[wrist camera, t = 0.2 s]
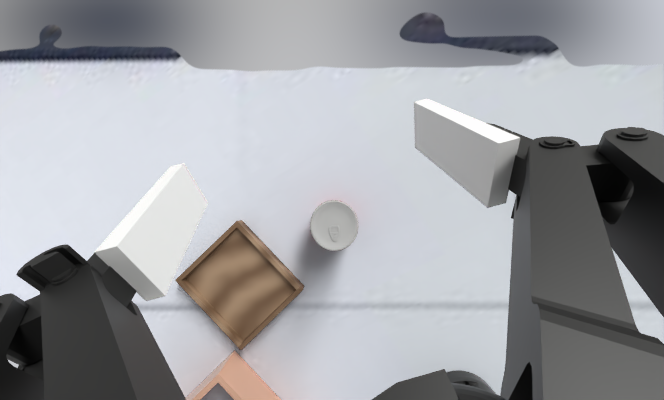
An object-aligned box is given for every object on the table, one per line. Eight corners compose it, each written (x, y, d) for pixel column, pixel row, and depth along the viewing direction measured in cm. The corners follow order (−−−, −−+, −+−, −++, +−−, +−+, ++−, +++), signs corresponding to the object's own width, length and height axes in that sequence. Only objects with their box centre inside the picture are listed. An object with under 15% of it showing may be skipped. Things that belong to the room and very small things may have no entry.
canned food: (323, 247, 50) (320, 258, 39) (308, 210, 50) (302, 210, 39) (359, 233, 50) (366, 240, 39) (344, 196, 50) (347, 192, 39)
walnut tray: (304, 285, 50) (302, 290, 47) (245, 343, 49) (240, 350, 47) (241, 220, 50) (236, 220, 47) (183, 276, 50) (175, 280, 47)
